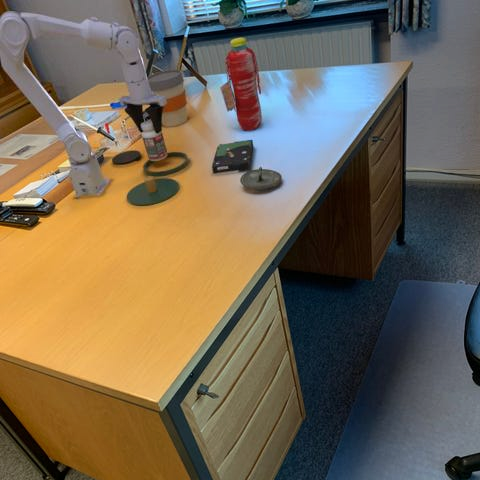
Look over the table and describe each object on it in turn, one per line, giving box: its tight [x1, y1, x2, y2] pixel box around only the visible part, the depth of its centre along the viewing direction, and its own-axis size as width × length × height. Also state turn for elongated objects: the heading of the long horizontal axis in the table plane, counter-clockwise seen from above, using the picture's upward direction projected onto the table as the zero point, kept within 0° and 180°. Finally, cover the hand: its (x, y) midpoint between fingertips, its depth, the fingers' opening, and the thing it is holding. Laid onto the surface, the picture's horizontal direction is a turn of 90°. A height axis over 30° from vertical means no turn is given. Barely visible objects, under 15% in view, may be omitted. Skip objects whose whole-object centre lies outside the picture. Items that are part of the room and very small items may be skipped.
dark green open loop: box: [142, 151, 190, 178], centre depth 139 cm, size 13×13×2 cm
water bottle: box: [220, 37, 263, 131], centre depth 145 cm, size 12×8×25 cm, turn 90°
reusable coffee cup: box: [147, 69, 188, 128], centre depth 164 cm, size 13×13×15 cm
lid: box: [239, 166, 283, 190], centre depth 121 cm, size 11×10×5 cm
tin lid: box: [126, 176, 180, 207], centre depth 127 cm, size 14×14×5 cm
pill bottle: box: [141, 119, 169, 162], centre depth 136 cm, size 6×6×10 cm
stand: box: [111, 149, 142, 166], centre depth 149 cm, size 9×9×1 cm
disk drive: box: [211, 139, 255, 174], centre depth 135 cm, size 10×3×15 cm
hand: (151, 131), depth 135 cm, fingers closed on pill bottle, 5 cm apart
